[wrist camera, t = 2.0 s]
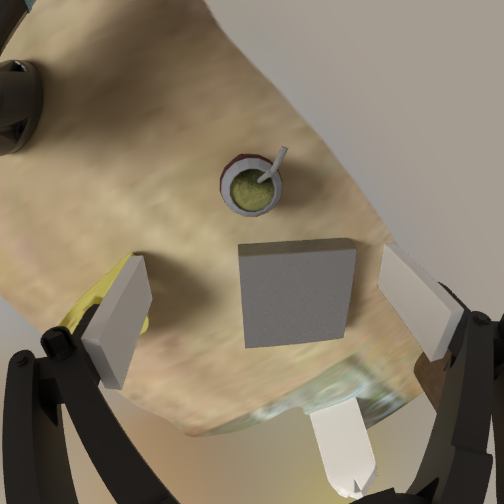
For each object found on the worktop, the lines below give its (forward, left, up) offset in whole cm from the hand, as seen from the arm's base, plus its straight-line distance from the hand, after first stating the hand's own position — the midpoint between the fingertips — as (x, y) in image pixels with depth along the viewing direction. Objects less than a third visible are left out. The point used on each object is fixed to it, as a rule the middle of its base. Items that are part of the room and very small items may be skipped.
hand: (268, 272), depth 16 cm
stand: (+17, +6, -25) cm, 31 cm away
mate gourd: (-1, 0, -25) cm, 25 cm away
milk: (+57, +19, -25) cm, 66 cm away
